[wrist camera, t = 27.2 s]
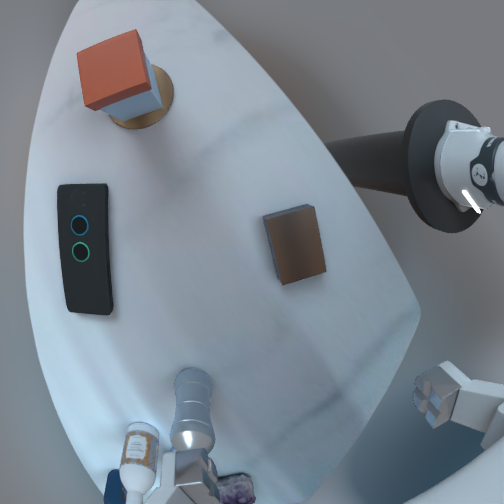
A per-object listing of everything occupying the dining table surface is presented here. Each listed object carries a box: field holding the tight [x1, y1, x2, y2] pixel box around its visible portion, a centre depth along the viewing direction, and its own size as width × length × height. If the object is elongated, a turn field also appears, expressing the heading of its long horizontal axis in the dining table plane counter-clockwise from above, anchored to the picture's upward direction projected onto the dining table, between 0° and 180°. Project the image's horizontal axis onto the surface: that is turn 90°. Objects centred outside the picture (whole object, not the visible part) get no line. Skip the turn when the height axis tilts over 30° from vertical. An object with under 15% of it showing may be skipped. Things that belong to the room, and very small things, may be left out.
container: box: [77, 29, 163, 122], centre depth 29 cm, size 7×14×7 cm
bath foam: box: [120, 422, 159, 504], centre depth 42 cm, size 7×7×20 cm
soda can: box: [103, 470, 127, 504], centre depth 50 cm, size 7×7×12 cm
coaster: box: [109, 65, 173, 129], centre depth 36 cm, size 10×10×1 cm
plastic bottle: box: [170, 368, 215, 454], centre depth 40 cm, size 6×7×20 cm
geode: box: [215, 473, 256, 504], centre depth 57 cm, size 20×12×10 cm, turn 177°
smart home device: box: [57, 184, 113, 315], centre depth 40 cm, size 8×2×20 cm
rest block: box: [263, 204, 326, 285], centre depth 44 cm, size 7×10×3 cm
